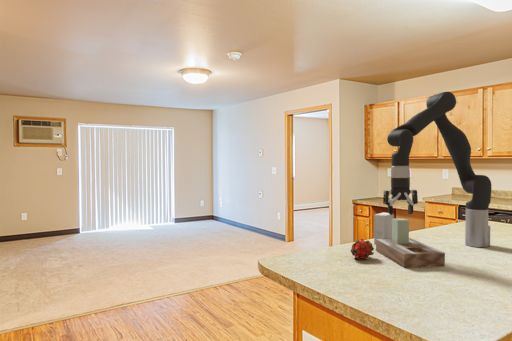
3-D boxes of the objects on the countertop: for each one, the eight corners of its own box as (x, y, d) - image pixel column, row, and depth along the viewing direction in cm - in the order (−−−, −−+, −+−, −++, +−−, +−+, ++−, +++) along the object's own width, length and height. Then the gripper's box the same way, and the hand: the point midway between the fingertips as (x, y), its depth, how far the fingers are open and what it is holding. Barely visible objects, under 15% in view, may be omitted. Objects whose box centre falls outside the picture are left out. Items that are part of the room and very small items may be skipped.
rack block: (410, 249, 164) (410, 238, 164) (444, 266, 139) (444, 252, 138) (375, 250, 163) (375, 239, 163) (404, 267, 137) (404, 253, 137)
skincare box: (383, 241, 181) (383, 212, 180) (394, 244, 176) (394, 213, 176) (373, 244, 176) (373, 213, 175) (384, 246, 171) (384, 215, 170)
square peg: (403, 250, 160) (403, 218, 160) (408, 252, 155) (408, 220, 155) (392, 250, 160) (392, 218, 159) (397, 253, 155) (397, 220, 154)
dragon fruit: (372, 259, 154) (355, 269, 147) (358, 245, 159) (340, 254, 152) (382, 246, 149) (365, 255, 142) (366, 232, 154) (349, 240, 147)
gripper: (411, 175, 161) (411, 212, 161) (380, 176, 159) (380, 213, 160) (420, 176, 153) (421, 215, 154) (388, 177, 152) (388, 216, 152)
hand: (400, 214), depth 157 cm, fingers open, 8 cm apart
